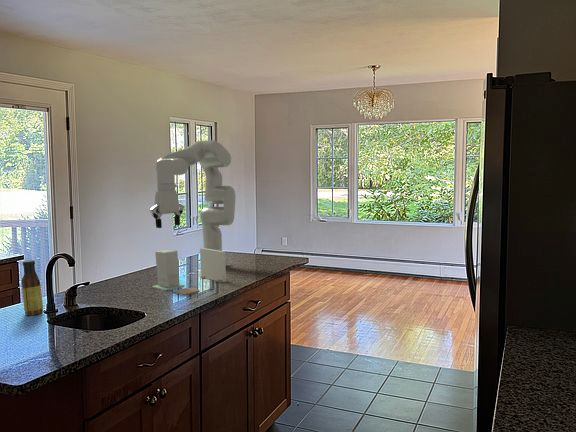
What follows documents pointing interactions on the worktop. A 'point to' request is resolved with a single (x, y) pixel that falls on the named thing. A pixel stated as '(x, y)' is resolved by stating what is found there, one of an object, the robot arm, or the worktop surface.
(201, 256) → the screen
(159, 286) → the green pad
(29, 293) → the sauce bottle
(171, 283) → the skincare box
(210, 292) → the worktop surface
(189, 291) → the terracotta tile
